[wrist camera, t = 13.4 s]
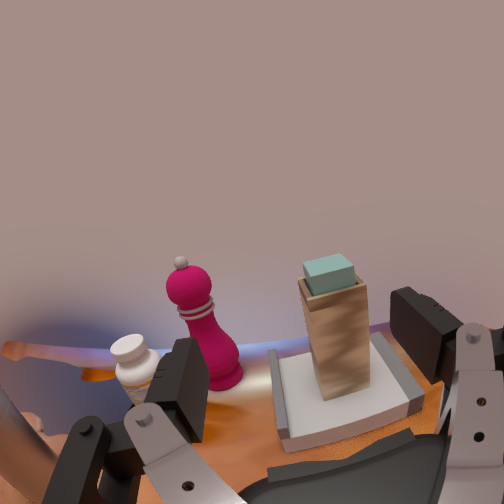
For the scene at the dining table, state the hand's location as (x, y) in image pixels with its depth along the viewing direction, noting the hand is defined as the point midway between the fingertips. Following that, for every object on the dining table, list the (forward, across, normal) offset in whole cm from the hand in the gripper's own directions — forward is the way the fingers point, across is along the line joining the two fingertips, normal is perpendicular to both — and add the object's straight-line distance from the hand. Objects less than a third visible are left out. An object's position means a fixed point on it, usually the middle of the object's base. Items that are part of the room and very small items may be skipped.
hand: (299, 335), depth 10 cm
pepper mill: (+24, +10, +22) cm, 34 cm away
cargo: (+15, -5, +6) cm, 17 cm away
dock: (+15, -6, +21) cm, 26 cm away
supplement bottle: (+17, +18, +22) cm, 34 cm away
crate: (+15, -5, +18) cm, 24 cm away
